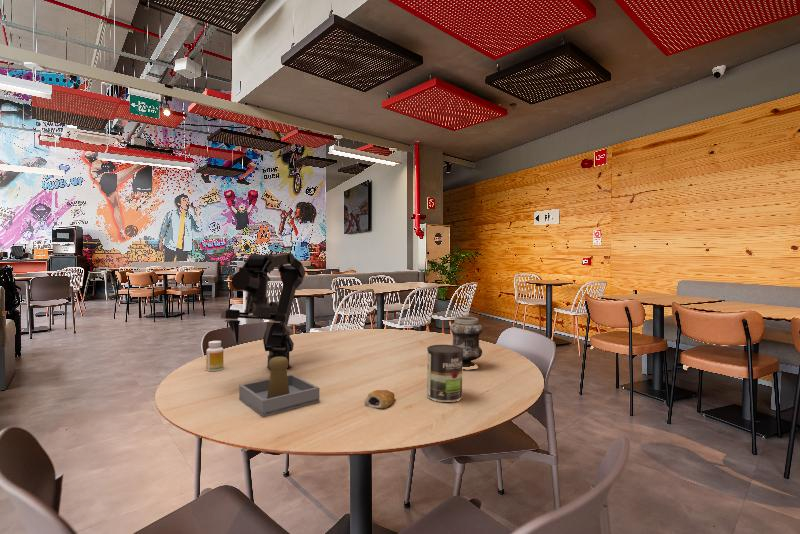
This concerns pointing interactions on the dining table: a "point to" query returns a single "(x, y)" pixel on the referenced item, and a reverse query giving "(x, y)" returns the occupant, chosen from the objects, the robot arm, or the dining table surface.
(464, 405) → the dining table surface
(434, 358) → the coffee can
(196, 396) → the dining table surface
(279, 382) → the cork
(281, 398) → the grey bin
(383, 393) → the pastry
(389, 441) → the dining table surface
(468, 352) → the apothecary jar
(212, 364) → the supplement bottle
